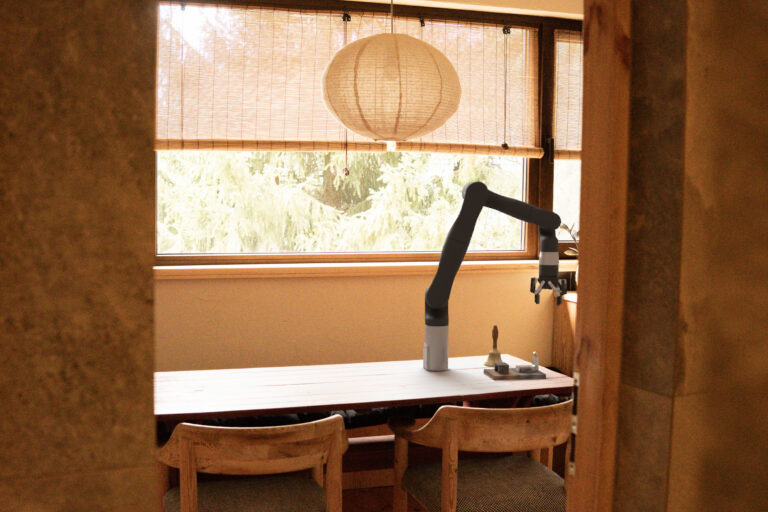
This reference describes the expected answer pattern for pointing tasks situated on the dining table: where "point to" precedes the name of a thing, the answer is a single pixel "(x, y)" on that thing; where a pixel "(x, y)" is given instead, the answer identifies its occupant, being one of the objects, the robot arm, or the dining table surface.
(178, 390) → the dining table surface
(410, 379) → the dining table surface
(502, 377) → the lock plate
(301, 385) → the dining table surface
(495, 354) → the hand bell
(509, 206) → the robot arm
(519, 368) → the bolt
